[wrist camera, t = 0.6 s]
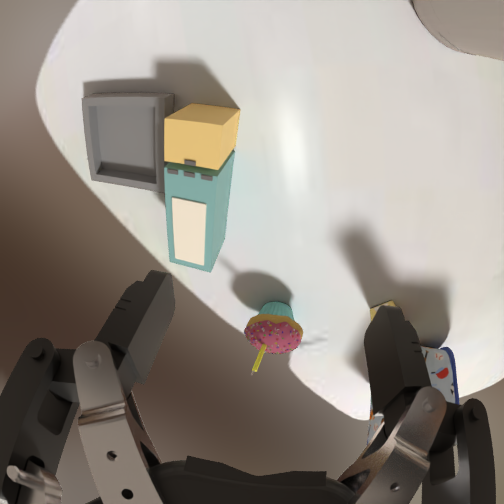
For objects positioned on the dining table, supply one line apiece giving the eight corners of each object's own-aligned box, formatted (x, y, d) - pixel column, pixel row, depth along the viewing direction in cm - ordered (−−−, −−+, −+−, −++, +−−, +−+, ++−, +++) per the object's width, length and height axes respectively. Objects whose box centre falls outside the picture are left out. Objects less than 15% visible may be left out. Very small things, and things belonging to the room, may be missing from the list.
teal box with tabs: (189, 143, 27) (163, 168, 23) (234, 151, 27) (216, 177, 23) (187, 230, 35) (169, 262, 31) (224, 238, 35) (210, 273, 31)
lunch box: (398, 389, 58) (397, 466, 42) (363, 388, 60) (358, 469, 44) (455, 334, 40) (470, 442, 24) (413, 332, 41) (421, 452, 25)
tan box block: (191, 103, 24) (163, 119, 20) (240, 109, 24) (222, 126, 19) (189, 138, 27) (163, 161, 22) (235, 145, 27) (217, 170, 22)
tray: (93, 93, 24) (81, 98, 23) (174, 93, 24) (164, 97, 22) (100, 172, 32) (91, 180, 30) (172, 184, 31) (164, 193, 30)
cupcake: (243, 313, 45) (226, 378, 37) (264, 285, 40) (247, 359, 31) (289, 330, 46) (279, 394, 38) (315, 305, 41) (309, 378, 32)
